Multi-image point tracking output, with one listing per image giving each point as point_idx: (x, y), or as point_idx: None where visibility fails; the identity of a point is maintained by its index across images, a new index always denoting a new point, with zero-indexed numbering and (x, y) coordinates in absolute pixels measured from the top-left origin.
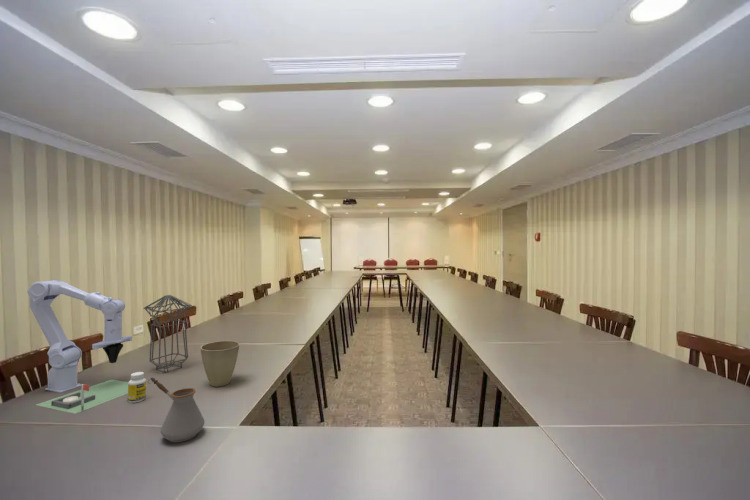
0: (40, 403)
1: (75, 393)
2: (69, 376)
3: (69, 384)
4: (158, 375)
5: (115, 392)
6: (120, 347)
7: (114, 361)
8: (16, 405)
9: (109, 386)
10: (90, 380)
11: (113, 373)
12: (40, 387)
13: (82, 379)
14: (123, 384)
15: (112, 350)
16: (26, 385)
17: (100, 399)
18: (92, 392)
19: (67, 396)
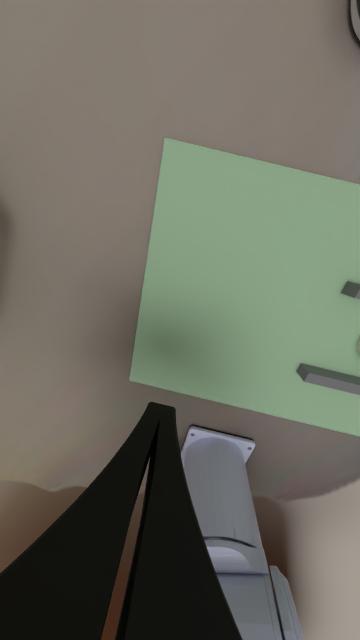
0: (349, 431)
1: (318, 382)
2: (234, 487)
3: (229, 453)
4: (24, 220)
5: (266, 251)
6: (48, 593)
7: (164, 412)
8: (342, 473)
9: (196, 335)
10: None
11: (75, 415)
12: None
13: None
14: (168, 295)
15: (208, 594)
16: None
17: (355, 252)
18: (261, 350)
19: (350, 386)
